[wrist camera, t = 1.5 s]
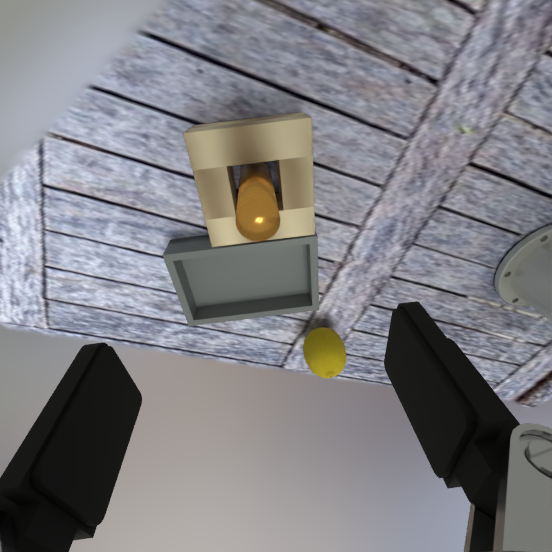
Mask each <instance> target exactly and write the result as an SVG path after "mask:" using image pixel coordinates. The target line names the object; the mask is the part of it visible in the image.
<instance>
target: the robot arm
mask: <svg viewBox="0 0 552 552" xmlns="http://www.w3.org/2000/svg"><path fill="white" fill-rule="evenodd" d="M494 283H495V289H496V292H497V294H498V295H499V296H500V297H501V298H502V299H503V300H505V301H506V302H507V303H509V304H511V305H516V306H532V307H533V308H534V309H535V310H537V311H538V312H539V313H540V314H542V315H543V316H544V317H545V318H547V319H548V320H549V321H550V322H552V224H551V225H549V226H546V227H544V228H542V229H539V230H537V231H536V232H534V233H532V234H530V235H529V236H527V237H526V238H525V239H523V240H522V241H520V242H519V243H518V244H517V245H516V246H515V247H514V248H513V249H511V251H510V252H509V253H508V254H507V255H506V256H505V258H504V259H503V261H502V262H501V264H500V265H499V268H498V270H497V272H496V276H495V280H494ZM384 366H385V370H386V372H387V374H388V377H389V379H390V381H391V383H392V385H393V387H394V389H395V391H396V393H397V395H398V398H399V399H400V402H401V403H402V406H403V408H404V410H405V412H406V414H407V416H408V418H409V421H410V423H411V425H412V427H413V429H414V431H415V433H416V435H417V437H418V439H419V442H420V444H421V446H422V448H423V450H424V452H425V454H426V456H427V458H428V460H429V462H430V465H431V467H432V469H433V471H434V473H435V474H436V475H437V476H438V477H439V478H443V479H444V481H445V484H446V485H447V488H454V487H462V488H463V490H464V492H465V494H466V496H467V498H468V500H469V501H470V502H471V505H470V512H469V519H468V525H467V532H466V540H465V546H464V552H552V429H551V428H549V427H545V426H542V425H539V424H530V423H526V424H522V425H520V424H519V422H518V421H517V420H516V418H515V417H514V416H513V415H512V413H511V412H510V411H509V410H508V408H507V407H506V406H505V405H504V403H503V402H502V401H501V400H500V398H499V397H498V396H497V395H496V393H495V392H494V391H493V390H492V388H491V387H490V386H489V384H488V383H487V382H486V381H485V379H484V378H483V377H482V376H481V374H480V373H479V372H478V371H477V369H476V368H475V367H474V366H473V364H472V363H471V362H470V361H469V359H468V358H467V357H466V355H465V354H464V353H463V352H462V350H461V349H460V348H459V347H458V345H457V344H456V343H455V342H454V341H453V340H451V339H449V338H446V336H445V335H444V334H443V332H442V331H441V330H440V329H439V327H438V326H437V325H436V323H435V322H434V321H433V319H432V318H431V317H430V316H429V314H428V313H427V312H426V310H425V309H424V308H423V307H422V305H421V304H420V303H419V302H417V301H416V302H409V303H401V304H399V305H398V307H397V309H393V312H392V317H391V323H390V329H389V335H388V341H387V347H386V353H385V359H384ZM141 403H142V396H141V393H140V391H139V390H138V388H137V386H136V385H135V383H134V382H133V380H132V378H131V377H130V375H129V373H128V372H127V370H126V368H125V367H124V365H123V364H122V362H121V360H120V359H119V357H118V355H117V354H116V352H115V350H114V349H113V348H112V347H111V346H108V345H107V344H106V343H96V344H89V345H84V346H83V347H82V348H81V349H80V351H79V352H78V354H77V356H76V357H75V359H74V360H73V362H72V364H71V365H70V367H69V369H68V370H67V372H66V373H65V375H64V377H63V378H62V380H61V381H60V383H59V385H58V386H57V388H56V389H55V391H54V393H53V394H52V396H51V397H50V399H49V401H48V402H47V404H46V406H45V407H44V409H43V411H42V412H41V414H40V415H39V417H38V418H37V420H36V421H35V423H34V425H33V426H32V428H31V430H30V431H29V433H28V435H27V436H26V438H25V439H24V441H23V443H22V444H21V446H20V447H19V449H18V451H17V452H16V454H15V455H14V457H13V459H12V460H11V462H10V463H9V465H8V467H7V468H6V470H5V471H4V473H3V475H2V476H1V478H0V552H69V549H70V547H71V544H72V541H73V540H79V539H86V538H93V536H94V533H95V530H96V527H97V525H99V524H100V523H101V522H102V520H103V519H104V516H105V514H106V511H107V508H108V505H109V501H110V498H111V495H112V492H113V489H114V486H115V483H116V480H117V477H118V474H119V471H120V468H121V465H122V462H123V459H124V456H125V453H126V450H127V447H128V444H129V441H130V437H131V434H132V431H133V428H134V425H135V422H136V419H137V416H138V413H139V410H140V407H141Z"/></svg>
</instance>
